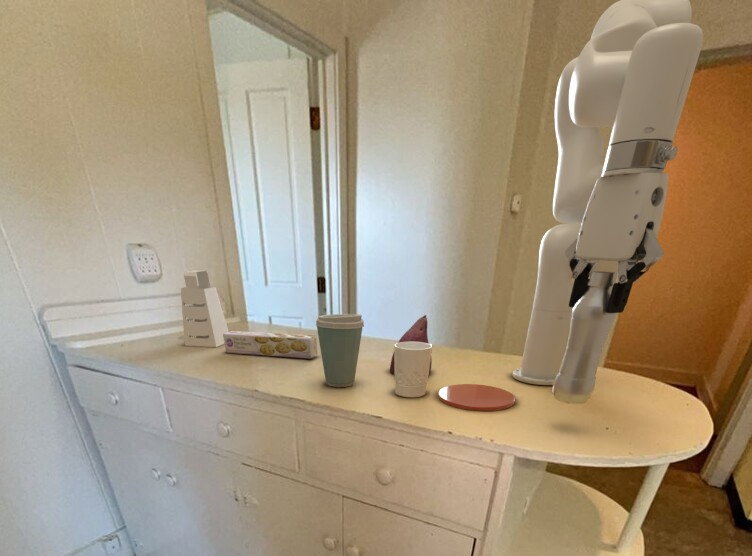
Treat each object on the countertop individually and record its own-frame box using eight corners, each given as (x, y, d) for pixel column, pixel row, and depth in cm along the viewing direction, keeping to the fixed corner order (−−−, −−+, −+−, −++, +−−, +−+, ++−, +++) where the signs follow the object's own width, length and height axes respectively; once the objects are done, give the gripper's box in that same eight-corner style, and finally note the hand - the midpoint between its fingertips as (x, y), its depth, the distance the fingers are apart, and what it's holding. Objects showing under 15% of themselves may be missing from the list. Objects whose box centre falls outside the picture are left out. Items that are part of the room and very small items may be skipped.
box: (225, 353, 124) (221, 332, 121) (235, 349, 128) (231, 329, 125) (311, 360, 118) (310, 338, 115) (318, 356, 122) (317, 335, 119)
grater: (184, 345, 132) (169, 271, 121) (201, 339, 141) (188, 269, 130) (216, 347, 131) (203, 272, 120) (231, 340, 140) (220, 270, 129)
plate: (481, 384, 100) (482, 380, 100) (531, 404, 88) (532, 400, 88) (424, 392, 94) (424, 389, 94) (468, 415, 82) (469, 411, 82)
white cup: (431, 390, 96) (435, 343, 90) (423, 400, 89) (427, 350, 84) (397, 386, 98) (400, 340, 92) (388, 396, 92) (389, 347, 86)
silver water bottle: (542, 396, 77) (572, 270, 67) (578, 396, 78) (613, 271, 67) (559, 408, 72) (594, 273, 61) (597, 407, 72) (638, 273, 62)
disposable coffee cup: (308, 383, 99) (304, 313, 91) (341, 374, 106) (340, 308, 98) (340, 393, 93) (338, 318, 85) (373, 383, 100) (374, 313, 92)
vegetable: (426, 380, 114) (446, 321, 107) (427, 386, 104) (449, 322, 98) (389, 368, 113) (406, 308, 107) (386, 373, 104) (405, 308, 97)
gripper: (719, 156, 52) (662, 316, 62) (599, 172, 65) (568, 302, 75) (681, 151, 49) (628, 319, 59) (563, 169, 62) (536, 304, 72)
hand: (594, 308), depth 67 cm, fingers closed on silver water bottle, 6 cm apart
